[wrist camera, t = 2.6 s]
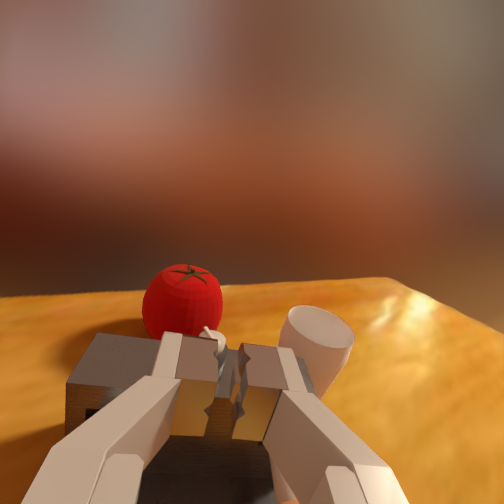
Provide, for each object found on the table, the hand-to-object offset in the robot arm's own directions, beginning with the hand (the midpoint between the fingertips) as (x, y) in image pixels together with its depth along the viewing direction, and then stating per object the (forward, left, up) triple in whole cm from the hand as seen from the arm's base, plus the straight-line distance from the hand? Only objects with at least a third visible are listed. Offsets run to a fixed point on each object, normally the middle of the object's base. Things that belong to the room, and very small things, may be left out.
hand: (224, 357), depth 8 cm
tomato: (+28, -14, -25) cm, 40 cm away
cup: (+12, -25, -25) cm, 37 cm away
